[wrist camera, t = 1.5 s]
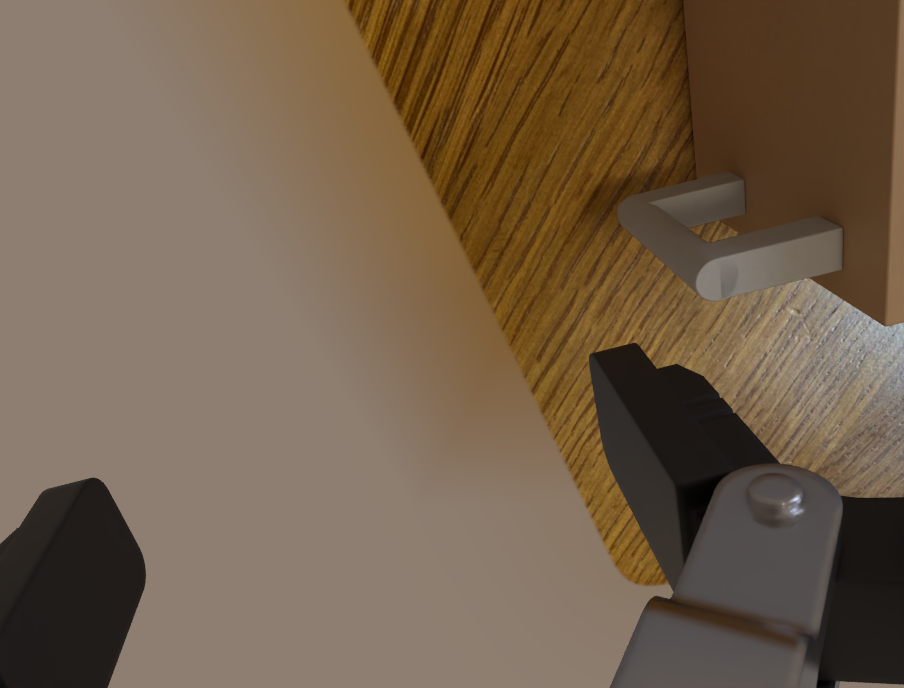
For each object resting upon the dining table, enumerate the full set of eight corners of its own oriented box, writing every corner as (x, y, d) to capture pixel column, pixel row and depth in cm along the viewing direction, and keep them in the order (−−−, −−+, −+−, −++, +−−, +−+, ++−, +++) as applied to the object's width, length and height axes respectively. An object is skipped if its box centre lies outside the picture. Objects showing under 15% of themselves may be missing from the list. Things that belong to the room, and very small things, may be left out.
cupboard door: (598, 232, 38) (728, 366, 25) (542, -170, 31) (687, -303, 17) (717, 202, 38) (914, 320, 25) (691, -207, 31) (957, -370, 17)
